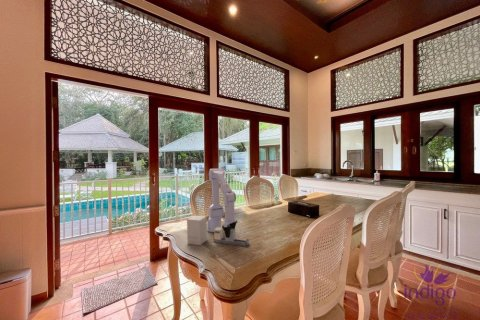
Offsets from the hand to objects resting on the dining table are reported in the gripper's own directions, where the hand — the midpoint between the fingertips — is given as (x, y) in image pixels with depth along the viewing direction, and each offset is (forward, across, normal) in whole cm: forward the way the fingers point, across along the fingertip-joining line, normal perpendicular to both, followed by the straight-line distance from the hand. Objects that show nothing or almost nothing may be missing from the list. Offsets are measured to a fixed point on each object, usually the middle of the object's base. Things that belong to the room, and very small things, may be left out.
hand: (230, 235), depth 125 cm
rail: (+5, 0, 0) cm, 5 cm away
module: (+3, 0, 0) cm, 3 cm away
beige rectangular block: (+3, 0, +8) cm, 8 cm away
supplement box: (+5, -4, +20) cm, 21 cm away
